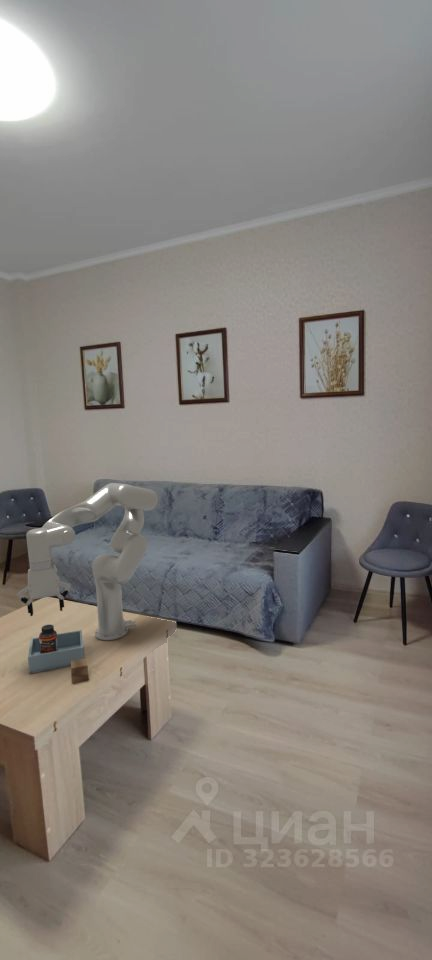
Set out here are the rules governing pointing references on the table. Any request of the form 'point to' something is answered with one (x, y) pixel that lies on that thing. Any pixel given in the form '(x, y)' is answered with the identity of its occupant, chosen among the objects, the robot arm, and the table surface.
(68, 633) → the tote
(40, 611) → the table surface
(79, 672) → the walnut cube
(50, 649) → the supplement bottle
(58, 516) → the robot arm
